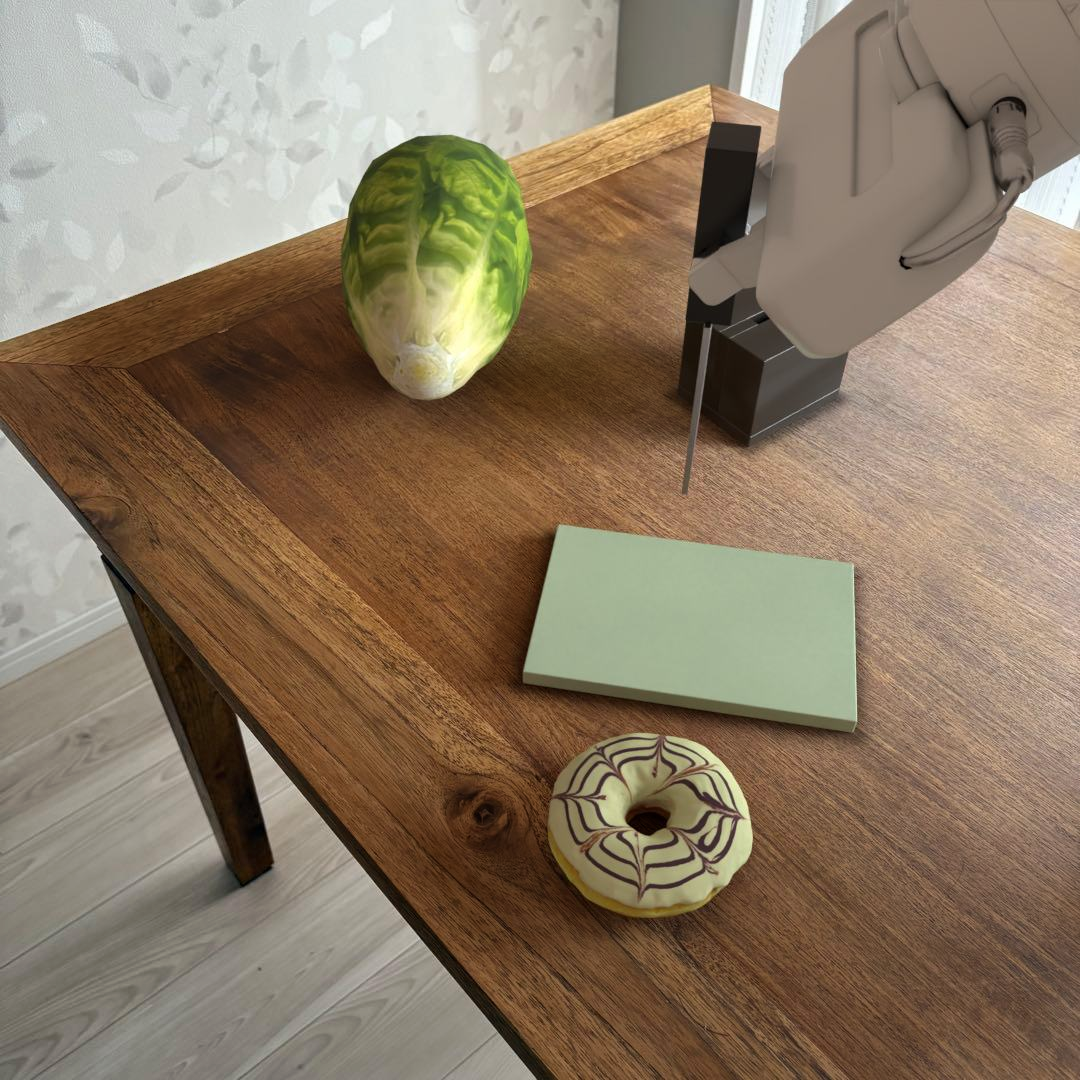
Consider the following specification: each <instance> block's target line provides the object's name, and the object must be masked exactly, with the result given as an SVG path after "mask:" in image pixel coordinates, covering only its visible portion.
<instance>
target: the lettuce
mask: <svg viewBox="0 0 1080 1080" xmlns="http://www.w3.org/2000/svg"><path fill="white" fill-rule="evenodd" d="M355 189H356V190H355V191H354V194H353V196H352V198H351V200H350V202H349V205H348V213H347V219H346V221H347V222H346V226H345V231H344V234H343V237H342V241H341V246H340V274H341V286H342V297H343V301H344V305H345V309H346V312H347V314H348V315H347V316H348V317H349V320H350V321H351V324H352V326H353V328H354V331H355V334H356V335H357V338H358V340H359V342H360V344H361V347H362V349H363V350H364V352H365V353H366V354H367V355H368V356H369V357H370V358H371V359H372V361H373V362H374V365H375V366H376V368H377V370H378V372H379V374H380V376H382V377H383V378H384V380H385V381H386V382H387V383H388V384H389V385H390V386H391V387H392V388H393V389H394V390H396V391H397V392H399V393H401V394H402V395H404V396H407V397H408V398H410V399H414V400H421V401H427V402H429V401H432V400H433V401H434V400H436V399H443V398H445V397H447V396H450V395H451V394H453V393H454V392H456V391H457V390H458V389H460V388H462V387H463V386H465V384H467V382H468V381H470V379H471V378H472V377H473V376H474V375H475V373H477V371H479V370H480V369H481V368H483V367H484V366H486V365H488V364H489V363H490V362H491V361H493V359H494V358H495V357H496V356H497V354H498V353H499V352H500V351H501V349H502V347H503V345H504V344H505V342H506V340H507V338H508V336H509V334H510V332H511V330H512V329H513V327H514V324H515V322H516V320H517V318H518V316H519V314H520V312H521V311H520V310H521V306H522V302H523V300H524V297H525V296H526V293H527V291H528V288H529V285H530V277H531V276H530V275H531V267H532V259H533V252H532V251H533V250H532V246H531V241H530V235H529V230H528V223H527V216H526V209H525V206H524V203H523V198H522V188H521V186H520V184H519V181H518V179H517V178H516V175H515V174H514V171H513V169H512V167H511V165H510V164H509V162H507V161H506V160H505V159H503V157H502V156H500V155H498V154H497V153H496V152H495V151H494V150H492V149H491V148H490V147H489V146H488V145H486V144H484V143H481V142H478V141H475V140H471V139H468V138H465V137H462V136H458V135H454V134H435V135H434V134H433V135H417V136H415V137H412V138H411V139H408V140H406V141H404V142H401V143H400V144H397V145H395V146H394V147H391V149H388V150H387V151H386V152H384V153H382V154H381V155H378V156H377V157H375V158H374V159H372V161H371V162H370V164H369V166H367V169H366V170H365V172H364V173H363V175H362V177H361V179H360V181H359V183H358V185H357V187H356V188H355Z"/></svg>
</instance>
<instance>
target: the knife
mask: <svg viewBox="0 0 1080 1080" xmlns="http://www.w3.org/2000/svg"><path fill="white" fill-rule="evenodd" d="M761 135H762V126H761V125H754V124H745V123H744V124H743V123H733V122H724V121H711V123H710V126H709V131H708V135H707V140H706V141H707V142H706V145H705V151H704V159H703V166H702V167H703V168H702V174H701V175H702V176H701V184H700V185H701V186H700V192H699V201H698V209H697V216H696V217H697V219H696V227H695V234H694V243H693V250H692V251H693V252H692V260H693V259H694V257H695V256H696V255H698V254H699V253H701V252H704V251H705V250H706V249H707V248H708V247H709V246H711V245H712V244H714V243H715V242H716V241H718V240H719V239H721V240H722V241H723V242H724V243H725V244H726V245H727V244H729V243H731V242H733V241H736V240H738V239H740V238H742V237H745V233H746V226H747V220H748V213H749V207H750V200H751V194H752V187H753V181H754V175H755V168H756V162H757V158H758V154H759V147H760V143H761V142H760V141H761ZM692 260H691V261H692ZM735 297H736V293H735V294H734V295H732V296H731V297H729V298H727V299H726V300H724V301H723V302H721V303H720V304H718V305H714V306H712V305H707V304H705V303H704V302H703V301H702V300H701V299H700V298H699V297H698V295H697V294H696V293H695V292H694V291H693V290H692V289H691V288H690V287H689V286H688V294H687V301H686V311H685V319H684V320H685V322H686V321H690V322H698V323H705V324H704V330H703V337H702V344H701V352H700V359H699V367H698V374H697V382H696V389H695V397H694V404H693V406H692V411H691V412H692V413H691V420H690V426H689V427H690V428H689V435H688V442H687V449H686V457H685V464H684V472H683V480H682V486H681V487H682V488H681V495H683V496H688V493H689V488H690V483H691V477H692V471H693V470H692V469H693V464H694V459H695V452H696V451H695V450H696V444H697V435H698V431H699V430H698V429H699V422H700V415H701V412H700V409H701V402H702V395H703V388H704V380H705V373H706V366H707V359H708V352H709V345H710V338H711V331H712V324H714V325H722V326H731V323H732V316H733V310H734V303H735Z"/></svg>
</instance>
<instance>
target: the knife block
mask: <svg viewBox="0 0 1080 1080" xmlns="http://www.w3.org/2000/svg"><path fill="white" fill-rule="evenodd" d="M704 324H705V323H698V322H690V321H686V320H685V325H684V335H683V342H682V351H681V358H680V367H679V375H678V384H677V392H676V396H677V397H679V398H680V399H681V400H682V401H684V402H686V403H687V404H689V406H691V407H693V404H694V397H695V389H696V382H697V374H698V367H699V359H700V352H701V344H702V337H703V330H704ZM849 353H850V351H848V352H846V353H844V354H842V355H840V356H837V357H833V358H821V359H812V358H808V357H806V356H804V355H803V354H802V353H801V352H800V351H799V350H798V349H797V348H796V347H795V346H794V345H793V344H792V343H791V342H790V341H789V340H788V339H787V338H786V336H785V335H784V334H783V333H782V332H781V331H780V330H779V329H778V328H777V326H776V325H775V324H774V323H773V322H772V320H771V319H770V318H769V317H768V316H767V314H766V313H765V312H764V311H763V309H762V308H761V307H760V305H759V304H758V302H757V299H756V287H751V288H746V289H745V288H743V289H741V290H740V291H738V292H737V293H736V297H735V303H734V310H733V316H732V323H731V326H722V325H714V324H712V331H711V338H710V345H709V352H708V359H707V366H706V373H705V380H704V388H703V395H702V402H701V409H700V414H702V415H704V417H706V418H707V419H709V420H710V421H712V422H713V423H714V424H716V425H717V427H718V426H719V428H721V429H723V431H725V432H727V434H729V435H731V436H732V437H733V438H735V439H736V440H737V441H739V442H740V443H742V444H743V445H744V446H745V447H747V448H749V447H752V446H754V445H755V444H756V443H759V442H760V441H762V440H764V439H766V438H768V437H770V436H771V435H773V434H775V433H776V432H779V431H781V430H782V429H784V428H786V427H787V426H789V425H791V424H793V423H795V422H797V421H798V420H800V419H802V418H805V416H807V415H810V414H811V413H813V412H815V411H816V410H818V409H820V408H822V407H823V406H825V405H827V404H829V403H831V402H833V401H835V400H836V399H838V397H839V393H840V388H841V386H842V385H841V384H842V381H843V377H844V373H845V369H846V365H847V361H848V357H849Z"/></svg>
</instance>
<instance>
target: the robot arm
mask: <svg viewBox="0 0 1080 1080" xmlns="http://www.w3.org/2000/svg"><path fill="white" fill-rule="evenodd" d="M781 84H782V85H781V93H780V101H779V108H778V116H777V122H776V123H777V124H776V132H775V140H774V144H773V145H772V146H770V147H768V149H766V150H765V151H763V152H762V153H761V154H760V155H759V156H757V162H756V168H755V175H754V181H753V187H752V194H751V200H750V207H749V213H748V220H747V226H746V233H745V237H742V238H740V239H738V240H736V241H733V242H731V243H729V244H727V245H726V244H725V243H724V242H723V241H722V240H721V239H719V240H718V241H716V242H715V243H714V244H712V245H711V246H709V247H708V248H707V249H706V250H705V251H704V252H701V253H699V254H698V255H696V256H695V257H694V259H693V258H692V259H693V260H691V265H690V267H689V272H688V277H687V283H688V284H687V285H688V288H689V287H690V288H691V289H692V290H693V291H694V292H695V293H696V294H697V295H698V297H699V298H700V299H701V300H702V301H703V302H704V303H705V304H707V305H712V306H714V305H718V304H720V303H721V302H723V301H724V300H726V299H727V298H729V297H731V296H732V295H734V294H735V293H737V292H738V291H740V290H741V289H743V288H745V289H746V288H751V287H756V299H757V302H758V304H759V305H760V307H761V308H762V309H763V311H764V312H765V313H766V314H767V316H768V317H769V318H770V319H771V320H772V322H773V323H774V324H775V325H776V326H777V328H778V329H779V330H780V331H781V332H782V333H783V334H784V335H785V336H786V338H787V339H788V340H789V341H790V342H791V343H792V344H793V345H794V346H795V347H796V348H797V349H798V350H799V351H800V352H801V353H802V354H803V355H804V356H806V357H808V358H812V359H821V358H833V357H837V356H840V355H842V354H844V353H846V352H848V351H849V352H850V351H851V350H853V349H855V348H857V347H858V346H860V345H862V344H863V343H864V342H866V341H867V340H870V339H871V338H872V337H874V336H876V335H877V334H879V333H880V332H882V331H883V330H885V329H886V328H888V327H890V326H891V325H892V324H894V323H895V322H896V323H897V321H899V320H900V319H902V318H903V317H904V316H906V315H907V314H909V313H911V312H912V311H914V310H915V309H916V308H918V307H919V306H921V305H922V304H924V303H926V302H927V301H928V300H930V299H931V298H933V297H934V296H936V295H937V294H939V292H941V291H942V290H944V289H945V288H947V287H948V286H949V285H951V284H952V283H953V282H955V281H956V280H958V279H959V278H961V276H963V275H964V274H965V273H966V272H968V271H969V270H970V269H972V268H973V266H975V265H976V264H977V263H978V262H979V261H980V260H981V259H982V258H983V257H984V256H985V254H987V252H988V251H989V250H990V249H991V248H992V246H993V244H994V242H995V241H996V238H997V237H998V235H999V231H1000V228H1001V227H1002V226H1003V225H1004V224H1006V221H1007V219H1008V212H1009V211H1010V210H1011V209H1012V208H1013V206H1014V205H1015V204H1016V202H1017V201H1018V199H1019V197H1020V195H1021V194H1024V193H1025V192H1026V191H1028V190H1029V189H1030V188H1031V186H1032V184H1033V183H1034V182H1036V181H1037V180H1039V179H1041V178H1042V177H1045V175H1047V174H1049V173H1050V172H1052V171H1054V170H1056V169H1057V168H1059V167H1060V166H1062V165H1064V164H1066V163H1067V162H1069V161H1071V160H1072V159H1074V158H1076V157H1077V156H1079V155H1080V0H851V1H850V2H849V3H848V4H846V5H845V6H844V7H843V8H842V9H841V10H839V12H837V13H836V14H835V15H834V16H833V17H832V18H831V19H829V20H828V21H827V22H826V23H824V25H823V26H822V27H820V29H818V30H817V31H816V32H815V33H814V34H813V35H812V36H811V37H810V38H809V39H808V40H807V41H806V42H805V44H803V46H801V48H800V49H799V50H798V51H797V53H796V54H795V55H794V57H793V58H792V59H791V60H790V61H789V63H788V64H787V66H786V68H785V69H784V71H783V75H782V83H781Z"/></svg>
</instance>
